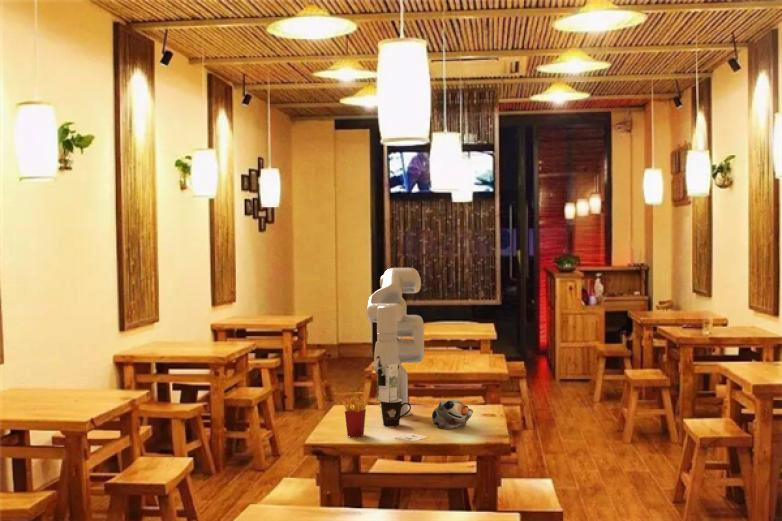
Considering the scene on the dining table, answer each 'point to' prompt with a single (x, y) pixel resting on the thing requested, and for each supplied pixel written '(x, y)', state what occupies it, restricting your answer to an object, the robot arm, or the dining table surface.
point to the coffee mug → (392, 412)
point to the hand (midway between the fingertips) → (387, 384)
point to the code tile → (411, 437)
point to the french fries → (355, 417)
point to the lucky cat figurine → (451, 414)
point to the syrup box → (389, 384)
